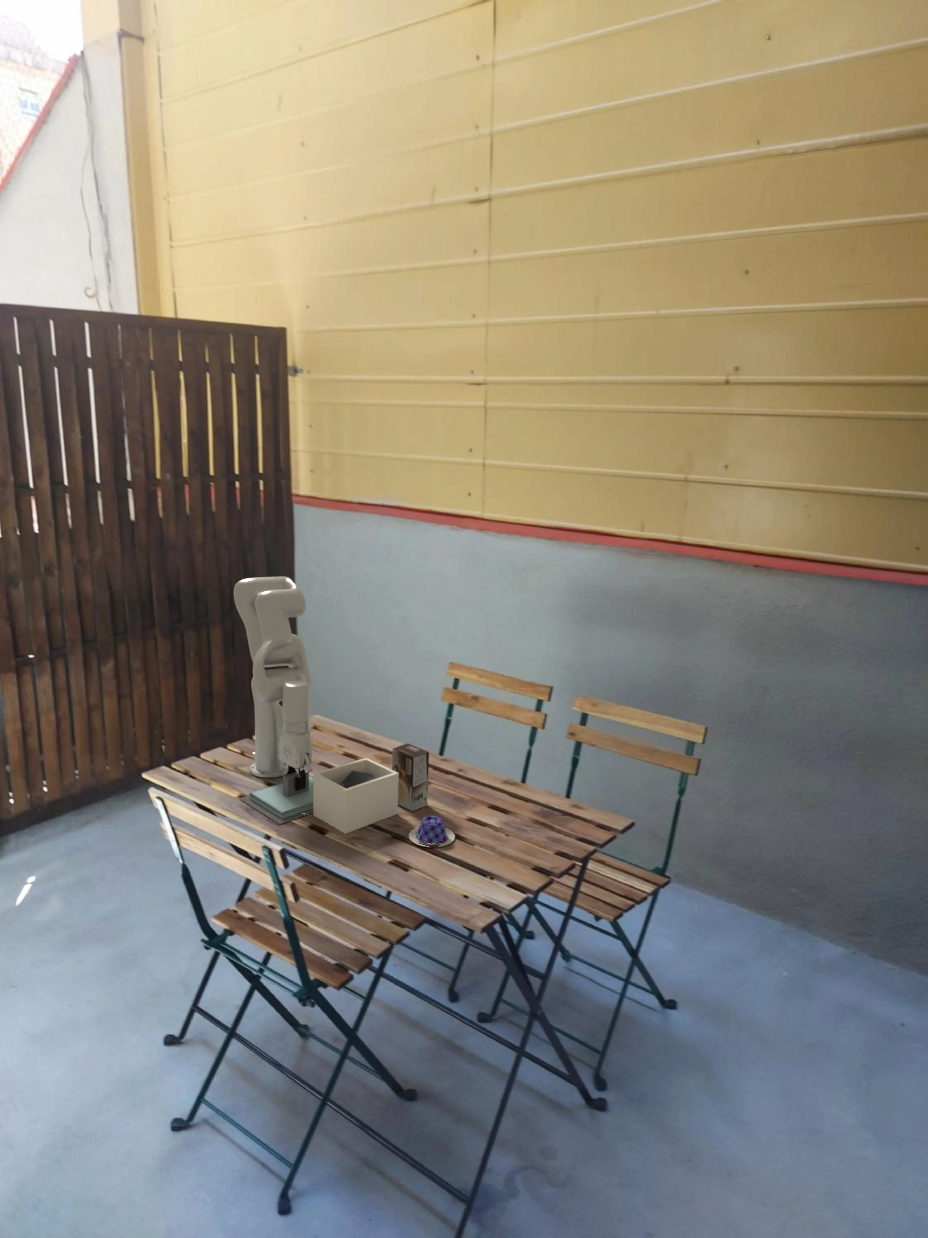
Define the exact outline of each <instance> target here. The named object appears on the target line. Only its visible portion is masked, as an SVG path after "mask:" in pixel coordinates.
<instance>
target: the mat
mask: <svg viewBox="0 0 928 1238" xmlns="http://www.w3.org/2000/svg"><path fill="white" fill-rule="evenodd" d="M239 801H241V802H243V803H245V804H246V805H248V806H249V807H251V808H252V809H254V811H255V810H256V811H257V812H259V813H260V814H262V815H263V816H265V817H267V818H269V819H270V820H272V822H274V823H276V824H278V825H279V826H280V825H283V824H286V823H288V822H292V821H296V820H297V818H298V819H300V818H299V817H301V816H304V815H306V816H308V815H307V814H309V815H312V814H313V808H311V809H308V810H306V811H303V812H300V813H297V814H294V815H291V816H288V817H285V818H282V819H281V818H280V817H278V816H276V815H275V814H273V813H272V812H270V811H268V810H267V809H265V808H263V807H262V806H260V805H259V804H257V803H255V802H254V801H252V800H251V799H249V795H247V796H244V797H240V798H239ZM302 813H306V814H302ZM304 817H305V816H304ZM301 818H302V817H301Z"/></svg>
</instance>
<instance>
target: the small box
mask: <svg viewBox="0 0 928 1238" xmlns="http://www.w3.org/2000/svg"><path fill="white" fill-rule="evenodd" d="M372 777H373V774H369V773H362V772H356V771H352V772H351V773H350V774H349V775H348V776H347V777H346V779H345V780H344V781H343V782H342V783H341V784H340V785H341V786H342V787H344V788H346V789H347V788H350V787H353V786H356V785H359V784H362V783H365V782H368V781H371V780H372Z"/></svg>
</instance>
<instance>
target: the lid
mask: <svg viewBox="0 0 928 1238" xmlns="http://www.w3.org/2000/svg"><path fill="white" fill-rule="evenodd" d="M302 770H303V769H302ZM302 770H301V769H300V772H301V771H302ZM295 777H297V774H296V772H295V773H291V774H288V775H284V776H282V782H279V783H277V784H274V785H271V786H267V787H264V788H260V789H258V790H253V791H251V792H249V793H248V794H249V795H248V796H249V799H251V800H252V801H254V802H255V803H257V804H259V805H260V806H262V807H263V808H265V809H267V810H268V811H270V812H272V813H273V814H275V815H276V816H278V817H280V818H281V819H282V818H285V817H288V816H291V815H294V814H297V813H300V812H303V811H306V810H308V809H311V808H313V786H314V776H312V775H311V774H310V772H309V773H308V774H307V776H306V788H305V789H302V790H299V791H296V790H295Z"/></svg>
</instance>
